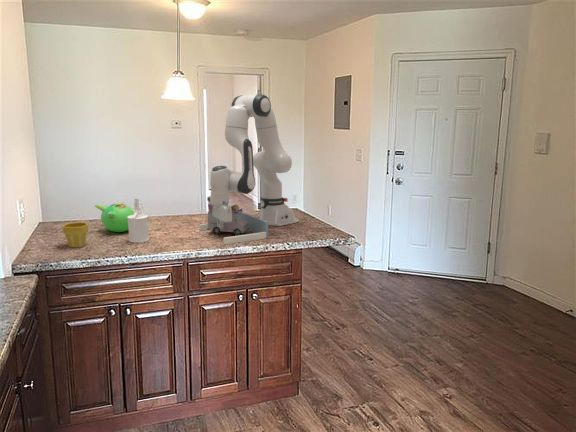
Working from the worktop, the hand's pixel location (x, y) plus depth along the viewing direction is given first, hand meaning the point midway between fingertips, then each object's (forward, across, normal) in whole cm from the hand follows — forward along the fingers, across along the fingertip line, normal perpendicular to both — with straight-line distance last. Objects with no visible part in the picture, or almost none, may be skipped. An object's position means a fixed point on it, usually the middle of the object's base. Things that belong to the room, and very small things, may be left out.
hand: (220, 227), depth 232 cm
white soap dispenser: (+4, +11, +37) cm, 39 cm away
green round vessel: (+4, +33, +41) cm, 53 cm away
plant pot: (+4, +16, +63) cm, 65 cm away
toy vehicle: (+4, +3, -6) cm, 8 cm away
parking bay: (+4, 0, -6) cm, 7 cm away
